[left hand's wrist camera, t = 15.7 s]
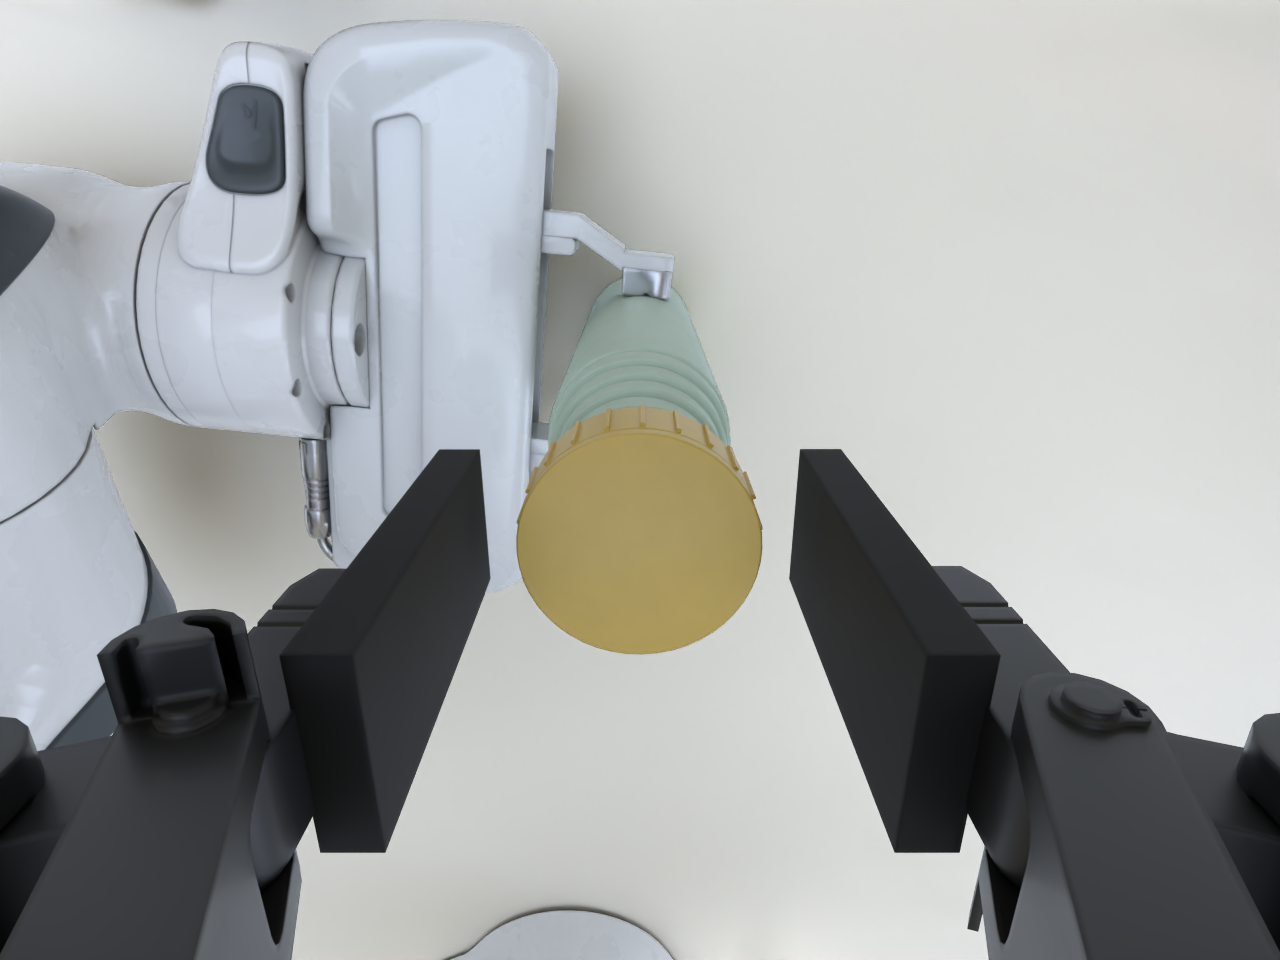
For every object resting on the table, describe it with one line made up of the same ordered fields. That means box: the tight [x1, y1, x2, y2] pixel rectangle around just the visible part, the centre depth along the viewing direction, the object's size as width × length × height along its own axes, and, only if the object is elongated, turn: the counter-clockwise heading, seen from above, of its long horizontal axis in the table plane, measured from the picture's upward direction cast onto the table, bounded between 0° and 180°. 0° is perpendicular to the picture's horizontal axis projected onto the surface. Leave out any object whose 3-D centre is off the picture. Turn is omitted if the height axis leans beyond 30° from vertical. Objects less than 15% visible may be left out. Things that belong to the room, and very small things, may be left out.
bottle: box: [548, 278, 730, 449], centre depth 24 cm, size 5×5×22 cm
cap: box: [516, 405, 762, 654], centre depth 14 cm, size 4×4×2 cm
